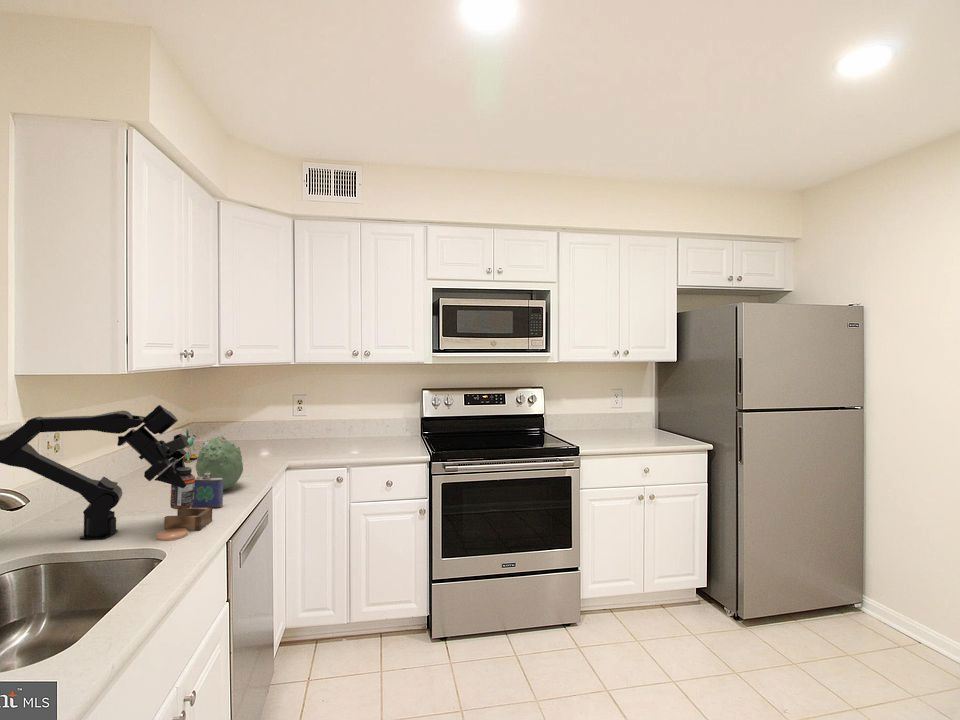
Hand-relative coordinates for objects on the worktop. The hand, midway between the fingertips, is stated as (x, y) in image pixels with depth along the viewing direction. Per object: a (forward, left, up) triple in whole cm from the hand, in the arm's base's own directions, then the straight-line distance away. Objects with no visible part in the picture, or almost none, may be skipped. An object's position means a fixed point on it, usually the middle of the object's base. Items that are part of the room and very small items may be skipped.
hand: (188, 484), depth 153 cm
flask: (-3, +21, -13) cm, 25 cm away
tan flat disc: (-2, -6, -13) cm, 14 cm away
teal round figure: (-42, +95, -13) cm, 105 cm away
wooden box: (-1, +3, -13) cm, 13 cm away
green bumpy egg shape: (-7, +42, -13) cm, 44 cm away
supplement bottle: (-2, 0, -7) cm, 7 cm away
